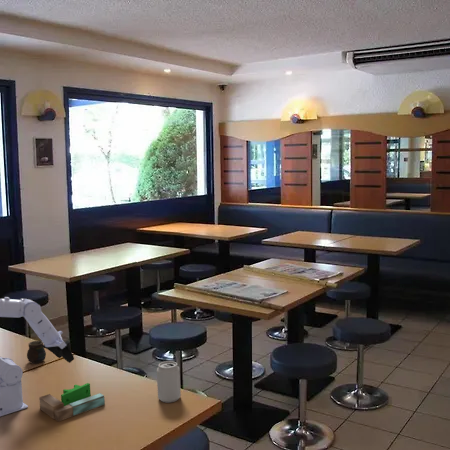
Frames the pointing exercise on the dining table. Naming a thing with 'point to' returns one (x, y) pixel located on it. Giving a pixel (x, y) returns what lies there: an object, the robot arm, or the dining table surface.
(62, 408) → the rail
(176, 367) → the can
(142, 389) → the dining table surface
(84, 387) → the pipe clamp
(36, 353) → the mate gourd
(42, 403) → the brown wooden block
